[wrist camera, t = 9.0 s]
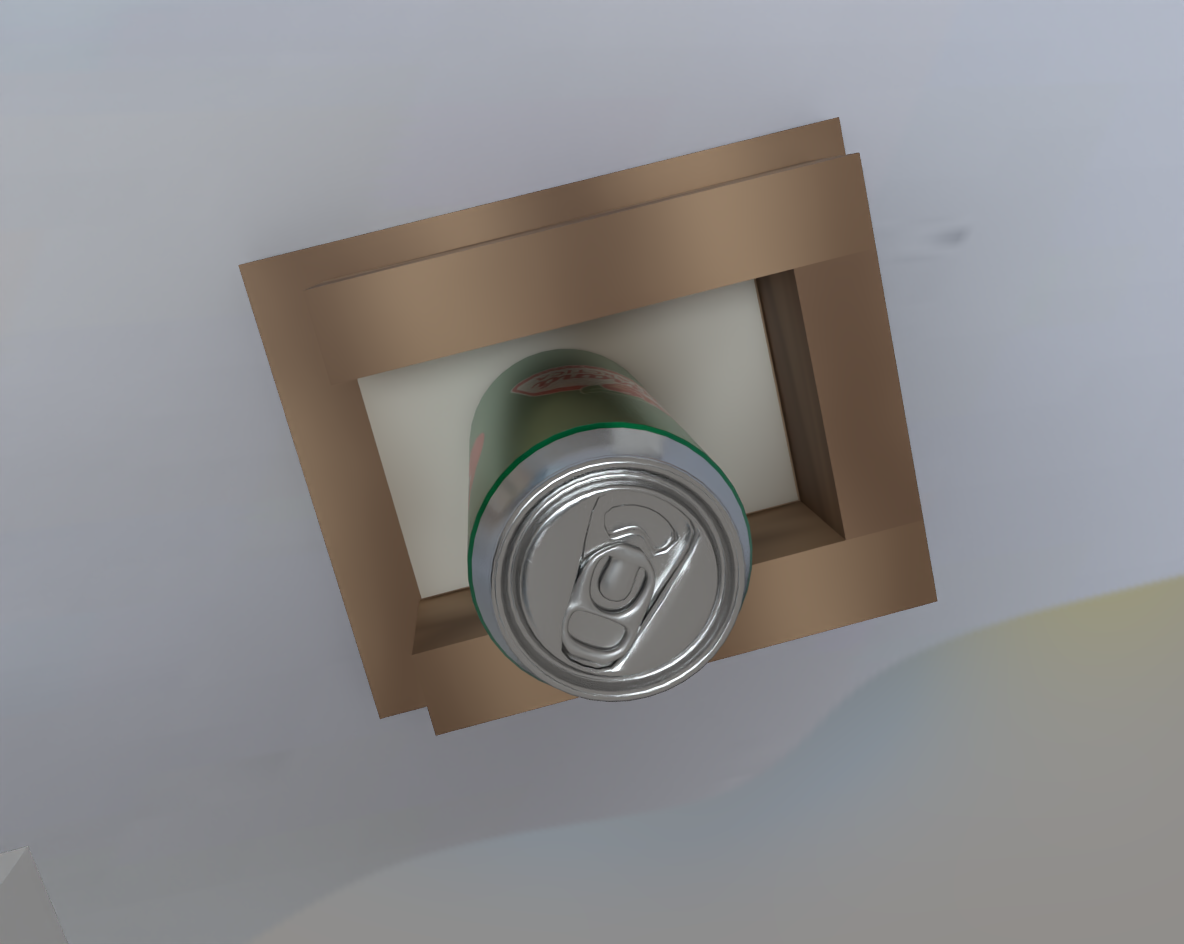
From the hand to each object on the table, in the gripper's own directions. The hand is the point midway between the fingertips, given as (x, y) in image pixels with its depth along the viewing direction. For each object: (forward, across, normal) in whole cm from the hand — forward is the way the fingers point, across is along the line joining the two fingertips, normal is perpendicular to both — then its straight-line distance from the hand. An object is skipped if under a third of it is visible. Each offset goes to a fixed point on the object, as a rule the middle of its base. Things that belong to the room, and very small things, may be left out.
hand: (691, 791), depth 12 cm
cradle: (+21, +1, 0) cm, 21 cm away
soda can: (+19, 0, 0) cm, 19 cm away
